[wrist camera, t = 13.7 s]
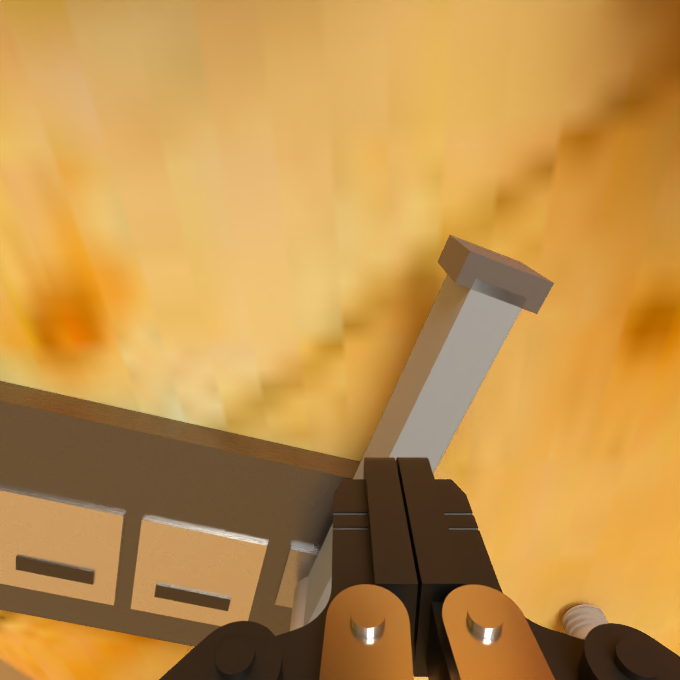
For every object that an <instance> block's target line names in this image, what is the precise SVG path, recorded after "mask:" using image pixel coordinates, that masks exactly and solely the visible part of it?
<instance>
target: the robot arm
mask: <svg viewBox="0 0 680 680" xmlns="http://www.w3.org/2000/svg"><path fill="white" fill-rule="evenodd" d="M413 675H414V677H428V679H429V680H680V657H679V656H678V655H677V654H675V653H674V652H672V651H671V650H669V649H668V648H666V647H665V646H663V645H662V644H660V643H659V642H658V641H656V640H655V639H653V638H651V637H650V636H648V635H647V634H645V633H643V632H641V631H639V630H637V629H634V628H632V627H629V626H625V625H621V624H613V623H609V624H602V625H598V626H596V627H594V628H593V629H592V630H590V631H589V633H588V634H587V636H586V639H585V640H584V639H580V638H577V637H573V636H570V635H567V634H563V633H560V632H557V631H553V630H550V629H547V628H545V627H542V626H540V625H538V624H536V623H533V622H532V621H530V620H529V619H527V618H525V616H524V615H523V613H522V611H521V610H520V608H519V607H518V606H517V605H516V604H515V603H514V602H513V601H512V600H511V599H510V598H509V597H507V596H506V595H505V594H503V592H502V590H501V588H500V585H499V583H498V580H497V577H496V575H495V572H494V569H493V566H492V564H491V561H490V558H489V556H488V553H487V550H486V548H485V545H484V542H483V539H482V537H481V534H480V531H478V526H477V523H476V521H475V518H474V516H473V515H472V510H471V507H470V504H469V502H468V499H467V496H466V494H465V493H464V492H463V491H462V490H461V489H460V488H459V487H458V486H457V485H456V484H455V483H454V482H453V481H452V480H451V479H434V476H433V472H432V469H431V465H430V462H429V459H428V458H427V457H397V458H396V460H395V458H394V457H364V475H363V479H342V481H341V483H340V484H339V486H338V488H337V489H336V491H335V492H334V494H333V536H332V586H331V595H330V598H329V601H328V603H327V605H326V607H325V608H324V610H323V611H322V612H321V613H320V614H319V615H318V617H317V618H315V619H314V620H313V621H311V622H310V623H308V624H307V625H305V626H303V627H300V628H298V629H295V630H292V631H289V632H286V633H283V634H280V635H277V636H275V635H274V634H273V633H272V632H271V631H270V630H269V629H268V628H267V627H265V626H264V625H261V624H259V623H256V622H252V621H236V622H232V623H228V624H226V625H223V626H221V627H219V628H218V629H216V630H214V631H213V632H212V633H210V634H209V635H208V636H207V637H206V638H204V639H203V640H202V641H201V642H200V643H199V644H198V645H197V646H196V647H195V648H193V649H192V650H191V651H190V652H189V653H188V654H187V655H186V656H185V657H184V658H182V659H181V660H180V661H179V662H178V663H177V664H176V665H175V666H174V667H173V668H171V669H170V670H169V671H168V672H167V673H166V674H165V675H164V676H163V677H161V678H160V679H159V680H414V679H413Z"/></svg>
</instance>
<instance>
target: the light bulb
mask: <svg viewBox="0 0 680 680" xmlns="http://www.w3.org/2000/svg"><path fill="white" fill-rule="evenodd" d="M562 624H563V627H564V629H565V630H566V634H567V635H570V636H573V637H577V638H580V639H584V640H585V639H586V636H587V634H588V633H589V631H590V630H592V629H593V628H594V627H596V626H598V625H602V624H609V623H608V621H607V620H606V618H605V616H604V614H603V612H602V611H601V609H600V608H598V607H597V606H594V605H591V604H581V605H577V606H574V607H572V608H571V609H569V610H568V611H567V612H566V613H565V614H564V616H563V618H562Z"/></svg>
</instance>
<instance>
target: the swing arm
mask: <svg viewBox="0 0 680 680" xmlns="http://www.w3.org/2000/svg"><path fill="white" fill-rule="evenodd" d="M438 263H439V264H440V265H441V267H442V268H443V269H444V270H445V272H446V273H447V276H446V278H445V281H444V283H443V285H442V287H441V289H440V291H439V294H438V296H437V298H436V300H435V302H434V304H433V307H432V309H431V311H430V313H429V315H428V317H427V320H426V322H425V324H424V326H423V328H422V330H421V333H420V335H419V337H418V339H417V341H416V343H415V346H414V348H413V350H412V352H411V354H410V356H409V359H408V361H407V363H406V365H405V367H404V369H403V372H402V374H401V376H400V378H399V380H398V382H397V385H396V387H395V389H394V391H393V393H392V395H391V398H390V400H389V402H388V404H387V406H386V408H385V411H384V413H383V415H382V417H381V419H380V421H379V424H378V426H377V428H376V430H375V432H374V434H373V437H372V439H371V441H370V443H369V445H368V447H367V450H366V452H365V454H364V456H363V458H362V460H361V463H360V465H359V467H358V469H357V471H356V473H355V476H354V478H353V479H363V475H364V457H394V458H395V460H396V458H397V457H427V458H428V459H429V462H430V465H431V469H432V472H433V473H434V471H435V469H436V468H437V466H438V464H439V462H440V460H441V458H442V456H443V454H444V453H445V451H446V449H447V447H448V445H449V443H450V441H451V440H452V438H453V436H454V434H455V432H456V430H457V428H458V426H459V425H460V423H461V421H462V419H463V417H464V415H465V413H466V412H467V410H468V408H469V406H470V404H471V402H472V400H473V398H474V397H475V395H476V393H477V391H478V389H479V387H480V385H481V384H482V382H483V380H484V378H485V376H486V374H487V372H488V370H489V369H490V367H491V365H492V363H493V361H494V359H495V357H496V356H497V354H498V352H499V350H500V348H501V346H502V344H503V343H504V341H505V339H506V337H507V335H508V333H509V331H510V329H511V328H512V326H513V324H514V322H515V320H516V318H517V316H518V315H519V313H520V311H521V309H525V310H528V311H531V312H533V313H536V314H537V313H538V311H539V309H540V307H541V306H542V304H543V302H544V300H545V298H546V297H547V295H548V293H549V291H550V289H551V287H552V286H553V284H554V283H553V282H551V281H550V280H548V279H546V278H545V277H543V276H542V275H540V274H539V273H537V272H535V271H534V270H532V269H531V268H529V267H527V266H526V265H524V264H523V263H521V262H519V261H517V260H514V259H511V258H509V257H506V256H504V255H501V254H498V253H496V252H493V251H491V250H488V249H485V248H483V247H480V246H478V245H475V244H472V243H470V242H467V241H465V240H462V239H460V238H457V237H454V236H452V235H450V236H449V238H448V240H447V242H446V245H445V247H444V249H443V251H442V253H441V256H440V258H439V260H438ZM332 536H333V523H332V525H331V528H330V530H329V532H328V534H327V536H326V538H325V541H324V543H323V545H322V547H321V549H320V551H319V554H318V556H317V558H316V560H315V562H314V564H313V567H312V569H311V571H310V573H309V575H308V576H307V577H305V578H303V579H302V580H300V581H299V582H298V583H297V585H296V587H295V592H294V600H293V608H292V616H291V624H290V631H292V630H295V629H298V628H300V627H303V626H305V625H307V624H308V623H310V622H311V621H313V620H314V619H315V618H317V617H318V615H319V614H320V613H321V612H322V611H323V610H324V608H325V607H326V605H327V603H328V601H329V598H330V595H331V586H332Z"/></svg>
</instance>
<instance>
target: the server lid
mask: <svg viewBox="0 0 680 680" xmlns="http://www.w3.org/2000/svg"><path fill="white" fill-rule="evenodd" d="M360 463H361V462H358V461H353V460H349V459H345V458H340V457H336V456H331V455H327V454H322V453H318V452H313V451H309V450H304V449H300V448H296V447H291V446H287V445H282V444H278V443H273V442H269V441H264V440H260V439H256V438H251V437H247V436H242V435H238V434H233V433H229V432H224V431H220V430H216V429H211V428H207V427H202V426H198V425H193V424H189V423H184V422H180V421H175V420H171V419H167V418H162V417H158V416H153V415H149V414H144V413H140V412H135V411H131V410H127V409H122V408H118V407H113V406H109V405H104V404H100V403H95V402H91V401H87V400H82V399H78V398H73V397H69V396H64V395H60V394H55V393H51V392H46V391H42V390H38V389H33V388H29V387H24V386H20V385H15V384H11V383H6V382H2V381H0V610H6V611H11V612H16V613H21V614H27V615H32V616H37V617H43V618H48V619H53V620H58V621H64V622H69V623H74V624H79V625H85V626H90V627H95V628H100V629H106V630H111V631H116V632H122V633H127V634H132V635H137V636H143V637H148V638H153V639H158V640H164V641H169V642H174V643H180V644H185V645H190V646H195V647H196V646H197V645H198V644H199V643H200V642H201V641H202V640H203V639H204V638H206V637H207V636H208V635H209V634H210V633H212V632H213V631H214V630H216V629H218V628H219V627H221V626H223V625H226V624H228V623H232V622H236V621H252V622H256V623H259V624H261V625H264V626H265V627H267V628H268V629H269V630H270V631H271V632H272V633H273V634H274V635H275V636H277V635H280V634H283V633H286V632H289V631H290V624H291V616H292V608H293V600H294V592H295V587H296V585H297V583H298V582H299V581H300V580H302V579H303V578H305V577H307V576H308V575H309V573H310V571H311V569H312V567H313V564H314V562H315V560H316V558H317V556H318V554H319V551H320V549H321V547H322V545H323V543H324V541H325V538H326V536H327V534H328V532H329V530H330V528H331V525H332V523H333V494H334V492H335V491H336V489H337V488H338V486H339V484H340V483H341V481H342V479H353V478H354V476H355V473H356V471H357V469H358V467H359V465H360Z"/></svg>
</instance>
